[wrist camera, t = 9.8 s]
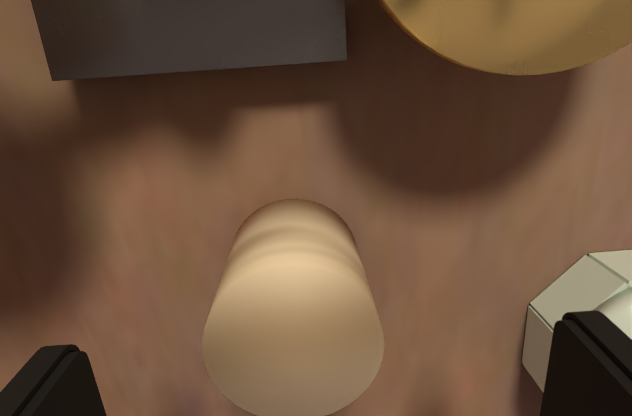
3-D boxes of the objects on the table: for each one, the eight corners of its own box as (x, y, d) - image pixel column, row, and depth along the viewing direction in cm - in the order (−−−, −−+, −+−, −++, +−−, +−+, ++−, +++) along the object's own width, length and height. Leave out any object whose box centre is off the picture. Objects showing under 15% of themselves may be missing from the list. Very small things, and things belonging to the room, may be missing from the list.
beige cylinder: (358, 306, 16) (385, 413, 11) (239, 316, 16) (216, 427, 11) (354, 193, 14) (383, 262, 10) (223, 204, 14) (188, 277, 10)
